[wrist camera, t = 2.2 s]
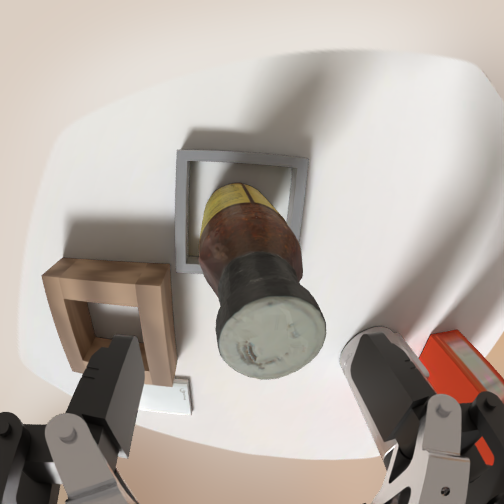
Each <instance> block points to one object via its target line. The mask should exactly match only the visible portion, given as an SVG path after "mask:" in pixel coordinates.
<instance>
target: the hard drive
mask: <svg viewBox="0 0 504 504" xmlns="http://www.w3.org/2000/svg"><path fill="white" fill-rule="evenodd" d="M138 409H139V410H146V411H152V412H161V413H170V414H179V415H192V407H191V399H190V390H189V381H188V379H175V378H174V382H173V387H166V386H156V385H148V384H144V387H143V391H142V395H141V399H140V404H139V408H138Z"/></svg>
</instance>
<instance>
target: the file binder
mask: <svg viewBox="0 0 504 504" xmlns="http://www.w3.org/2000/svg"><path fill="white" fill-rule="evenodd" d="M419 360H420V361H421V362H422V364H423V365H424V366H425V368H426V369H427V370H428V372H429V378H428V381H429V382H430V384H431V385H432V387H433V388H434V390H435V391H436V392H437V394H446V395H449V396H451V397H453V398H454V399H455V400H456V401H457V402H458V403H470V402H473V401H474V400H475V398H476V397H477V395H478V394H479V393H481V392H483V391H489V392H492V393H494V394H495V395H497V396H498V397H499V398H500V400H501V401H502V402H503V404H504V379H503V378H502V377H501V375H500V374H499V373H498V372H497V371H496V370H495V369H494V368H493V366H492V365H491V364H490V363H489V362H488V361H487V360H486V359H485V358H484V357H483V356H482V354H481V353H480V352H479V351H478V350H477V349H476V348H475V347H474V346H473V345H472V344H471V343H470V342H469V341H468V340H467V339H466V338H465V337H464V336H463V335H462V334H461V333H460V332H459V331H458V330H452V331H447V332H442V333H436V334H431V335H430V337H429V339H428V341H427V343H426V345H425V348H424V350H423V352H422V354H421V356H420V358H419ZM475 445H476V447H477V449H478V451H479V452H480V454H481V456H482V458H483V460H484V461H485V463H486V464H487V465H491V466H492V465H493V463H494V456H493V454H492V452H491V450H490V448H489V447H488V445H487V443H486V442H485V440H484V438H483V437H481V438H480V439H479V440H478V441H477V442H476V443H475Z"/></svg>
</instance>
